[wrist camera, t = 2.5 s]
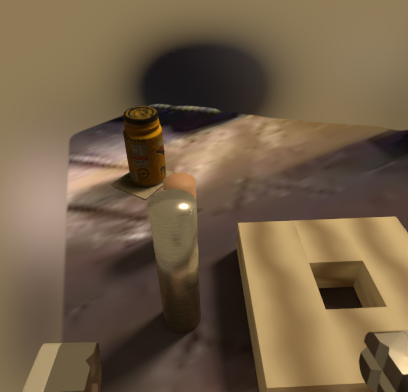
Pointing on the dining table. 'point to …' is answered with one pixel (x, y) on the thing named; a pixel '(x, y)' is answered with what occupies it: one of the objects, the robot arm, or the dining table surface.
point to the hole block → (311, 299)
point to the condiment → (143, 152)
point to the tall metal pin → (177, 257)
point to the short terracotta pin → (180, 183)
